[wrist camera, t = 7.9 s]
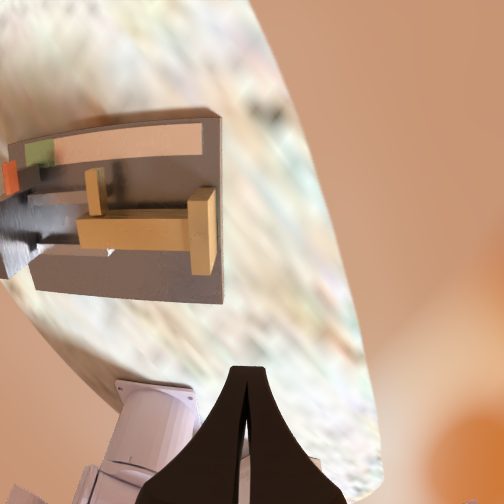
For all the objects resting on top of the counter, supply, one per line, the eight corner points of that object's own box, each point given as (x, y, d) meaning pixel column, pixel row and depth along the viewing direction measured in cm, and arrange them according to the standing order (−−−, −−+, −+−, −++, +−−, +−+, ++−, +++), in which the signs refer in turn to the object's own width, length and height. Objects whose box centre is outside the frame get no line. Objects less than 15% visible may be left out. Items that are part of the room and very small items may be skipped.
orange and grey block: (40, 183, 17) (14, 195, 15) (29, 185, 17) (3, 196, 15) (37, 153, 16) (10, 162, 14) (25, 156, 16) (-2, 164, 14)
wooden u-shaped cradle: (217, 252, 19) (210, 275, 16) (100, 249, 19) (80, 269, 17) (215, 159, 17) (207, 168, 14) (89, 166, 17) (64, 176, 14)
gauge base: (224, 296, 22) (215, 347, 17) (41, 284, 22) (7, 319, 17) (222, 117, 17) (207, 117, 12) (16, 142, 17) (-33, 156, 12)
